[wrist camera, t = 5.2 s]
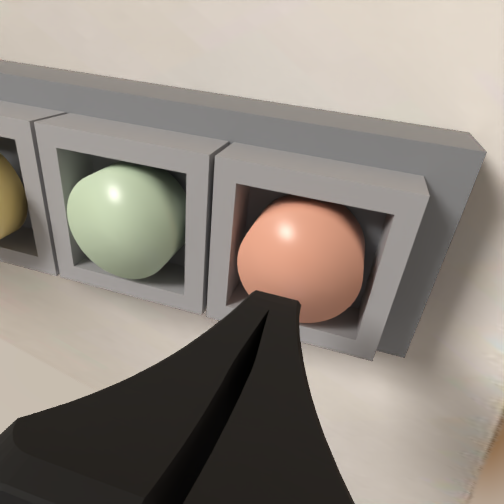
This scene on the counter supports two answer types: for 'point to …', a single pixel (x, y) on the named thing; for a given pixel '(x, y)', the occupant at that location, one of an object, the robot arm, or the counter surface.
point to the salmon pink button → (305, 255)
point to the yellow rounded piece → (11, 199)
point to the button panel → (238, 190)
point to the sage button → (128, 218)
